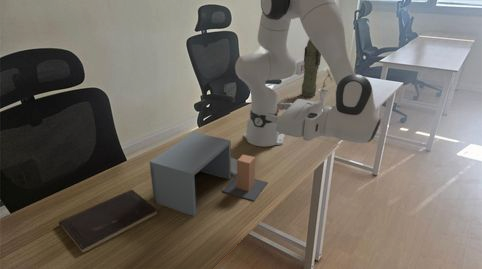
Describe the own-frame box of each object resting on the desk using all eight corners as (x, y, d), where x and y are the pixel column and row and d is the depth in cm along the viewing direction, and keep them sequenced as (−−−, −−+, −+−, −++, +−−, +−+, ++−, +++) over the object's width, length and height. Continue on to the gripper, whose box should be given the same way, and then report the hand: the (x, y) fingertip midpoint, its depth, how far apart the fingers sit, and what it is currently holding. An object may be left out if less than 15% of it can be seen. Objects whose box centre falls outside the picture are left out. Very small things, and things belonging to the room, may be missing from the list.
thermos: (304, 91, 217) (310, 37, 202) (319, 95, 209) (326, 39, 195) (296, 94, 211) (301, 38, 197) (311, 98, 204) (318, 41, 189)
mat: (237, 175, 122) (237, 174, 122) (267, 183, 117) (267, 182, 117) (222, 191, 112) (222, 190, 112) (254, 201, 107) (254, 200, 107)
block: (242, 181, 117) (243, 154, 113) (253, 184, 116) (255, 157, 111) (236, 187, 114) (237, 160, 109) (248, 191, 112) (249, 163, 107)
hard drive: (250, 166, 126) (228, 154, 134) (235, 173, 121) (213, 161, 128) (250, 169, 127) (228, 158, 134) (235, 177, 121) (213, 165, 129)
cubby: (195, 168, 126) (193, 132, 120) (230, 177, 120) (230, 140, 114) (154, 202, 106) (149, 161, 100) (194, 216, 100) (191, 173, 94)
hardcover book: (158, 215, 101) (157, 209, 100) (82, 255, 86) (81, 249, 85) (131, 194, 111) (130, 188, 110) (59, 226, 96) (58, 220, 95)
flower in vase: (326, 120, 172) (333, 73, 162) (306, 115, 178) (311, 70, 167) (334, 112, 182) (340, 68, 172) (314, 108, 188) (319, 65, 177)
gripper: (327, 98, 101) (284, 91, 106) (309, 121, 84) (259, 112, 89) (324, 117, 103) (282, 109, 109) (307, 143, 87) (258, 133, 92)
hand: (272, 110), depth 99 cm, fingers open, 8 cm apart
